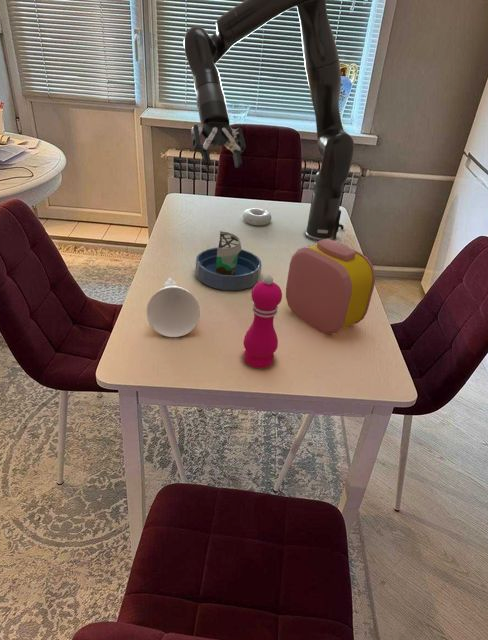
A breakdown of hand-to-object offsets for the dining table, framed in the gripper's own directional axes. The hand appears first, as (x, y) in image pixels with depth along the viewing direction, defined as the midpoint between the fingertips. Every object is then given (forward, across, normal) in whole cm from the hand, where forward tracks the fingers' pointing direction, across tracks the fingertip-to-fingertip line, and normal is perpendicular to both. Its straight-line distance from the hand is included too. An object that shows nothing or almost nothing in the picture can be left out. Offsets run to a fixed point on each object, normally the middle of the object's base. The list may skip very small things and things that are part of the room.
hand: (223, 166), depth 129 cm
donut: (+3, +26, +34) cm, 43 cm away
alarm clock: (+45, +12, -12) cm, 48 cm away
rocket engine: (+38, -20, -1) cm, 43 cm away
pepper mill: (+52, -10, -18) cm, 56 cm away
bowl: (+27, 0, +10) cm, 28 cm away
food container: (+27, 0, +9) cm, 28 cm away
